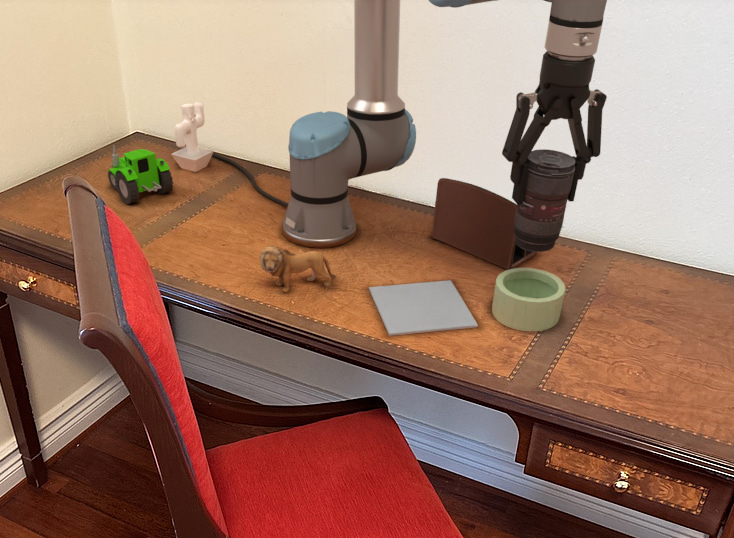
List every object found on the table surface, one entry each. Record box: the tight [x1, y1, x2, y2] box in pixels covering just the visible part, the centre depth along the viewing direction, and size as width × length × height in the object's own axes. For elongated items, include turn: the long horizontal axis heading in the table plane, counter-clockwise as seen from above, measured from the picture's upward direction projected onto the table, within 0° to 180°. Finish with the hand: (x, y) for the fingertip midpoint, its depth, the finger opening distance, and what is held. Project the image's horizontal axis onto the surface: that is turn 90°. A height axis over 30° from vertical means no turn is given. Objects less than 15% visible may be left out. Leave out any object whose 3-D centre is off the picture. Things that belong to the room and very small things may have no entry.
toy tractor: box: [107, 143, 174, 205], centre depth 178 cm, size 11×16×10 cm
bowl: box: [491, 267, 567, 332], centre depth 142 cm, size 12×12×6 cm
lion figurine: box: [259, 245, 337, 293], centre depth 147 cm, size 15×5×9 cm, turn 114°
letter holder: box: [430, 177, 538, 271], centre depth 160 cm, size 10×20×14 cm, turn 47°
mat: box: [368, 279, 479, 337], centre depth 144 cm, size 16×16×1 cm
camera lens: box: [514, 149, 575, 253], centre depth 131 cm, size 8×8×15 cm
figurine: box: [170, 101, 215, 173], centre depth 188 cm, size 7×9×15 cm
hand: (542, 199), depth 131 cm, fingers closed on camera lens, 8 cm apart
